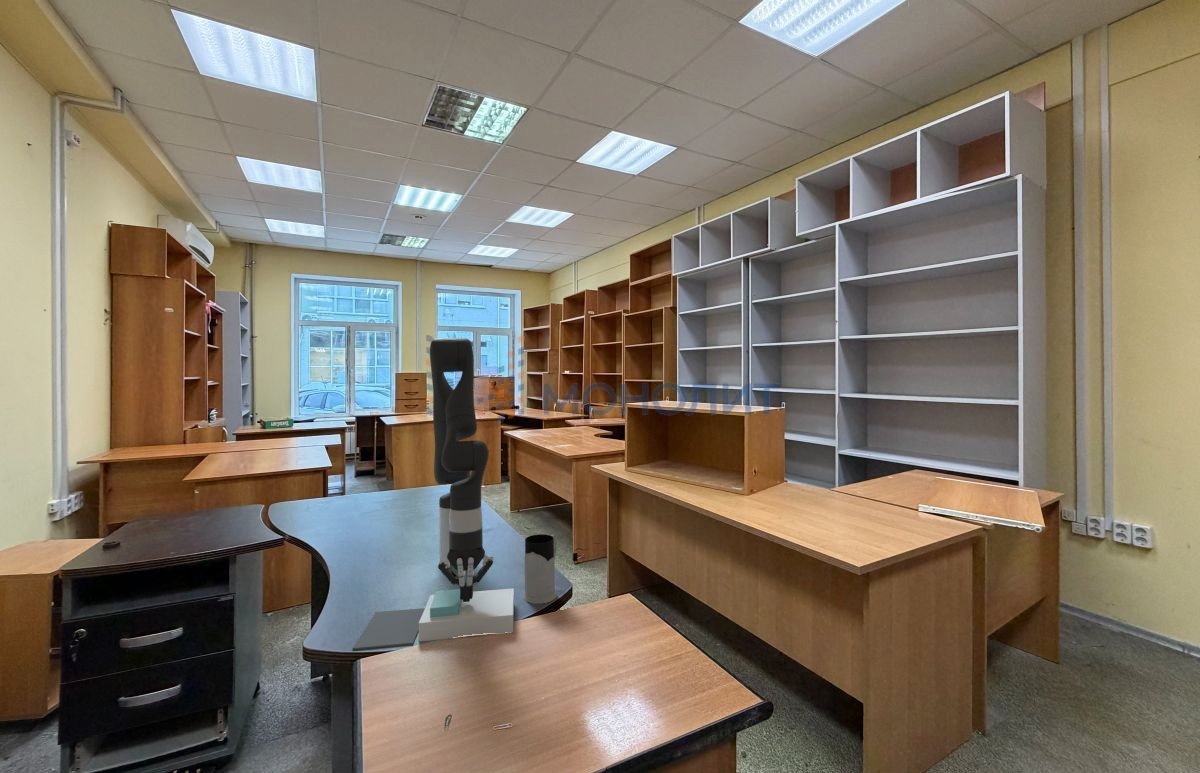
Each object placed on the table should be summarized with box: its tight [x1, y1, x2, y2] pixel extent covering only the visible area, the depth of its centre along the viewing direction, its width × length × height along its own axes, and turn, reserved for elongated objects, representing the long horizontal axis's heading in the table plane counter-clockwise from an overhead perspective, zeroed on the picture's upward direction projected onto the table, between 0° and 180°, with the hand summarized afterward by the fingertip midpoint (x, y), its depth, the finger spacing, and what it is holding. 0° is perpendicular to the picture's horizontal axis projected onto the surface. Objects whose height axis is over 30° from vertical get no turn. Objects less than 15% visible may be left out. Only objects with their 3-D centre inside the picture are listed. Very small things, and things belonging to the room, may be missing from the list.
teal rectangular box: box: [430, 588, 461, 617], centre depth 109 cm, size 9×6×2 cm, turn 11°
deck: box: [418, 588, 515, 642], centre depth 110 cm, size 14×20×4 cm
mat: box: [352, 607, 425, 651], centre depth 108 cm, size 16×12×1 cm
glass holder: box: [522, 533, 558, 605], centre depth 126 cm, size 9×14×15 cm, turn 160°
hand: (466, 600), depth 110 cm, fingers closed
